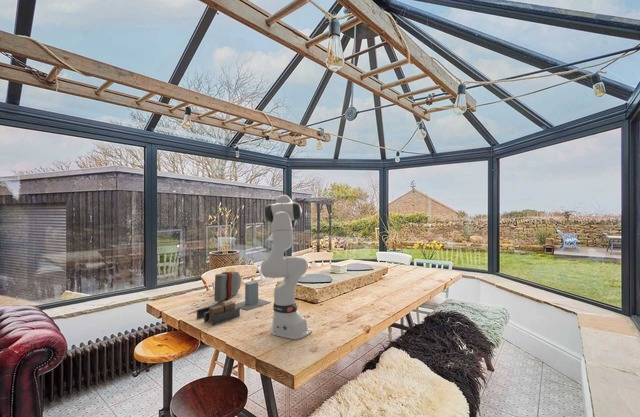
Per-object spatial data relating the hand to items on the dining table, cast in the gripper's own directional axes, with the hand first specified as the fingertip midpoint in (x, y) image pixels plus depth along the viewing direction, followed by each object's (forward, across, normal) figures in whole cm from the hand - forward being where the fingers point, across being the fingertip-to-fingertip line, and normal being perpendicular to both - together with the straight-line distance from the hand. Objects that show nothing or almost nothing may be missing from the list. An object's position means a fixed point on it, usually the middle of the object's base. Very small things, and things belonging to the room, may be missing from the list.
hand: (273, 248), depth 206 cm
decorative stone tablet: (+37, -32, +16) cm, 51 cm away
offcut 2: (+53, +1, 0) cm, 53 cm away
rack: (+56, -4, -3) cm, 56 cm away
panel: (+36, -7, +17) cm, 40 cm away
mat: (+36, -7, +17) cm, 40 cm away
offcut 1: (+59, +1, -6) cm, 59 cm away
